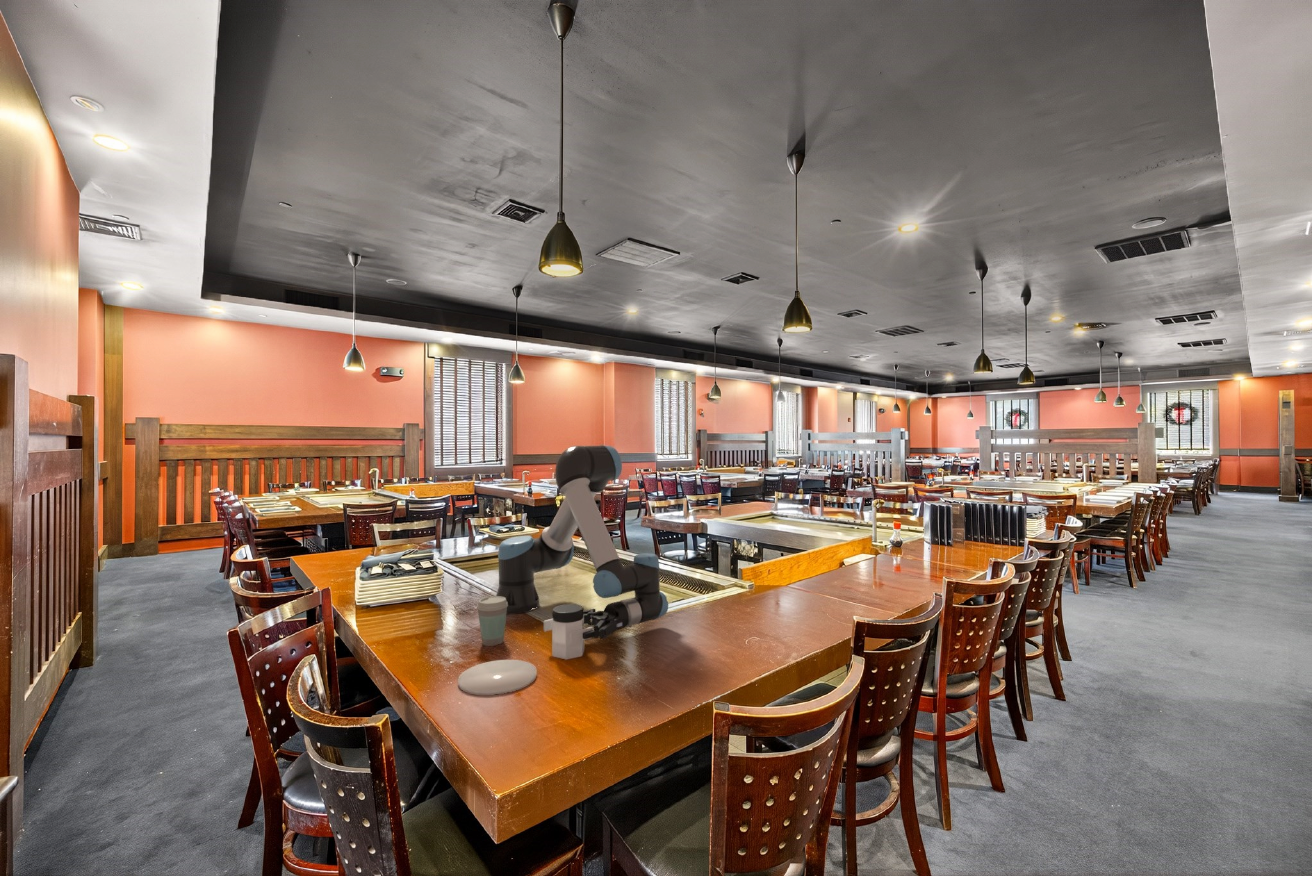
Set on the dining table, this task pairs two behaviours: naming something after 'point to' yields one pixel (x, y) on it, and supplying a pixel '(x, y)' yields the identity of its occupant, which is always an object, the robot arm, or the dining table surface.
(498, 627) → the coffee cup
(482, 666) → the saucer
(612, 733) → the dining table surface
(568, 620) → the jar
